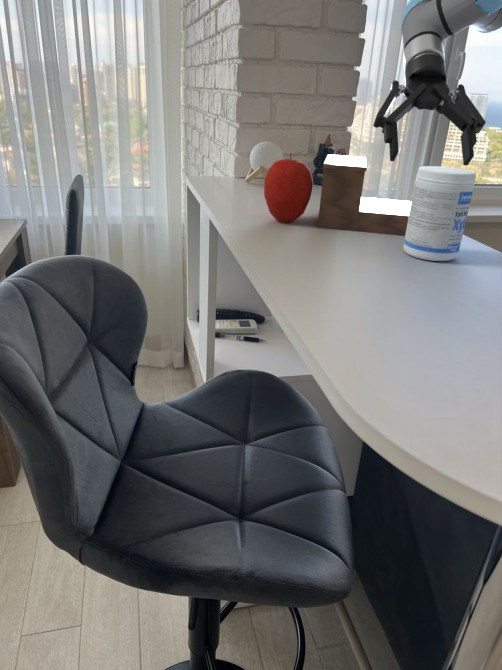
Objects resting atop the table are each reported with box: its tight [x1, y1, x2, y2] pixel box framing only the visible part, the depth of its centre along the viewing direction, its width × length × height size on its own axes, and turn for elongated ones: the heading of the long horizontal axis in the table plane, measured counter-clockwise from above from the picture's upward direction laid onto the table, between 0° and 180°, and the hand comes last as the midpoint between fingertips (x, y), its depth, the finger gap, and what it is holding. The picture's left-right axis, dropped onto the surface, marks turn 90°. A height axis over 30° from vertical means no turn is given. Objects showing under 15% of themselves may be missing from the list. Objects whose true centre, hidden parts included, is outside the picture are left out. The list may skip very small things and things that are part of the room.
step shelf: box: [317, 154, 412, 237], centre depth 107 cm, size 21×16×13 cm
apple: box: [263, 152, 315, 224], centre depth 105 cm, size 10×10×14 cm
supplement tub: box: [402, 165, 477, 262], centre depth 88 cm, size 10×10×15 cm
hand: (431, 158), depth 92 cm, fingers open, 13 cm apart
